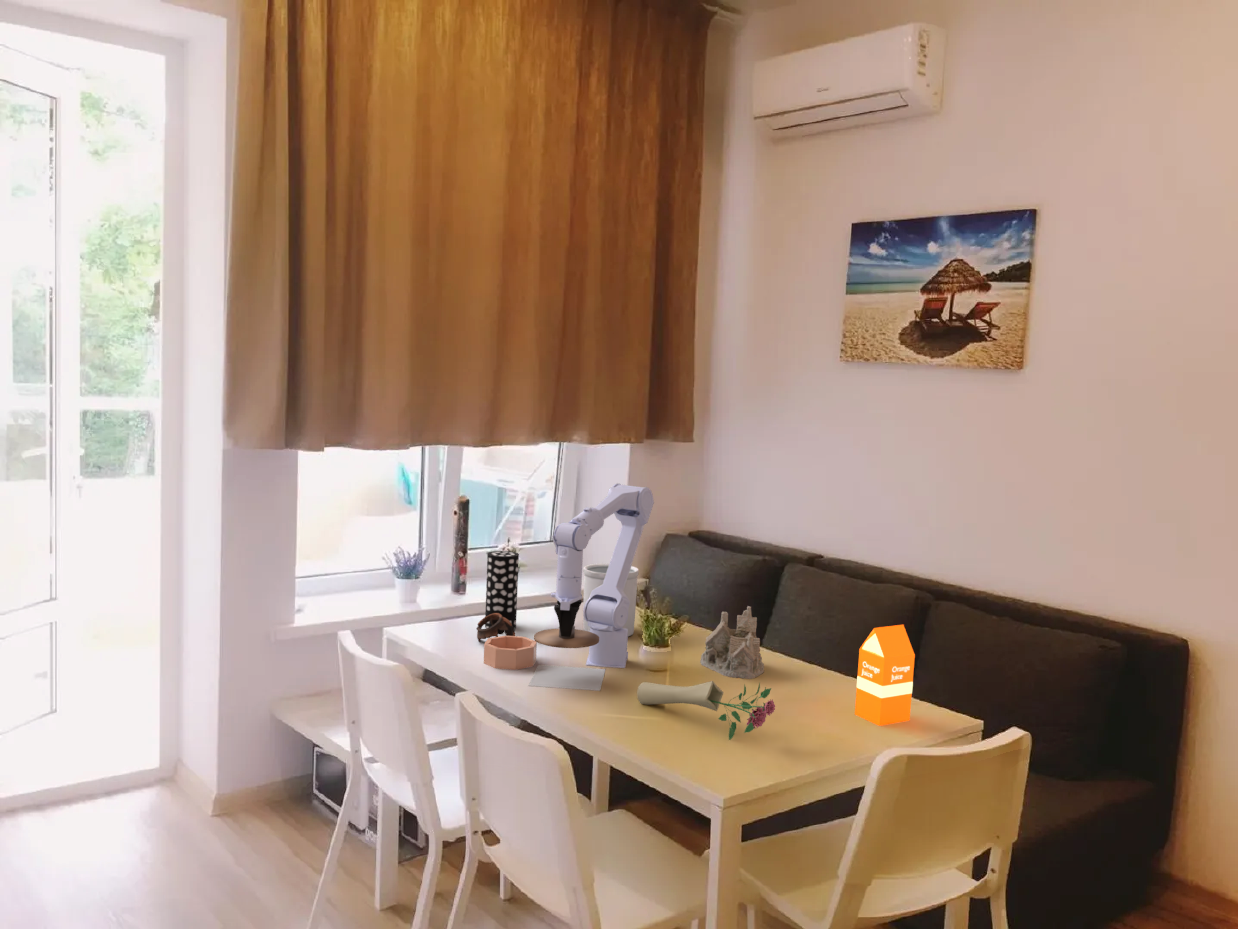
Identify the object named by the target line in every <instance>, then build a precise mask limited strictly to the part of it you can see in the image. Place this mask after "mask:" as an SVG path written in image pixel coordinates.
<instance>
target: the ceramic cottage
mask: <svg viewBox="0 0 1238 929" xmlns="http://www.w3.org/2000/svg"><path fill="white" fill-rule="evenodd" d="M720 616H721V617H720V623H719V624H718V625H717V626H716V628H715V629H714V630H713V631H712V632H711V633H710V634H709V635H708V636H706V637H705V647H704V648H705V650H704V652H702V653H701V656H700V665H701V666H702V667H706V668H707V669H709V670H712V671H713V672H714V671H715V673H718V674H720V675H722V676H725V677H727V678H736V679H737V678H741V679H746V680H747V679H748V680H750V679H755V678H757V677H759V676H760V675H762V674H763V673H764V672H765V663H763V659H762V654H761V653H760V652H761V648H760V646H761V639H760V638H759V637H757V626H758V622H757V621H758V618H757V617H756V616H754V617H753V616H752V606H749V605H747V607H746V609H745V610H743V612H742V614H741V615H740V614H737V616H736V628H735V629H734V628H730V627H729V625H728V624H729V623H728V622H729V612H727V611H722V612H721V615H720Z"/></svg>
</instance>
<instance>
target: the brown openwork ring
mask: <svg viewBox="0 0 1238 929" xmlns="http://www.w3.org/2000/svg"><path fill="white" fill-rule="evenodd" d="M490 620H491V624H492V626H491V627H489V628H486V627H485V628H483V626H485V624H486V623H487V622H489V621H490ZM476 631H477V633H476V639H477V640H478V642H481V640H486V639H488V638H493V637H499V635H504V633H505V636H516V631H515V629H514V628H513V626H512V624H511V622H510V621H509V620H508V619H506V618H504V617H503V616H502V615H501V614H499V613H494V614H490V615H488V616H486V617H485V616H484V617H483V618H482V619H481V620H480V621H479V622H478V623H477V627H476Z"/></svg>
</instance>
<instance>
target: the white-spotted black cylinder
mask: <svg viewBox="0 0 1238 929" xmlns="http://www.w3.org/2000/svg"><path fill="white" fill-rule="evenodd" d="M519 557H520V554H519V553H518V552H515V551H509V550H508V551H507V550H494V551H489V552H487V559H486V561H487V562H486V588H485V589H486V590H485V591H486V592H485V615H484V617H486V616H488V615H490V614H494V613H499V614H501V615H502V616H503V617H504V618H506V619H508V620H509V621H510V622H511V624H512V626H513V628H514V630H515V629H516V628H517V614H518V612H517V608H518V607H517V606H518V583H519V560H520V559H519ZM491 626H492V624H491V620H490V621H489V622H487V623H486V624H485V625H484V628H485V629H486V628H489V627H491Z"/></svg>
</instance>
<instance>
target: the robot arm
mask: <svg viewBox="0 0 1238 929" xmlns="http://www.w3.org/2000/svg"><path fill="white" fill-rule="evenodd" d="M654 500H655V499H654V496H653V493H652V490H651V489H650V487H647V486H644V487H643V486H635V485H628V484H627V485H626V484H621V483H618V482H617V483H614V484H613V485H612V486H611V487H609V489H608V492H607V496H606V497H604V498H603V499H602V501H600V502H599V503H598V504H597V505H596V506H595V507H592V506H591V507H589V506H585V507H584V508H582V512H579V514H577V515H575V516H574V517H573V518H571V520H569V521H568V522H561V523H560V524H558V525H557V526H556V527H555V529H554V532H553V535H552V541H553V544H554V547H555V550H554V551H555V553H556V555H557V562H556V563H557V564H556V588H555V590H556V591H555V592H551V593H550V598H554V599H556V600H557V601H556V603H557V604H555V605H554V606H553V609H554V612H555V614H556V616H557V620H558V624H559V625H558V627H559V626H560V633H561V636H563V637H570V636H571V633H572V628H573V626H575V624H576V619H577V614H578V612H579V610H580V606H581V605H582V603H583V600H582V598H583V594H582V586H583V585H582V580H583V559H584V549H586V548H587V547H588V545H589V542H590V540H591V539H592V536H593V535H594V534H596V533H597V532H599V531H600V530H601V528H603V526H604V524H605V520H606V519H608V518H609V517H610V516H611V515H613V514H614V516H615V518H616V519H617V520H618V521H619V522H620V523H621V528H620V531H619V534H618V536H617V537H618V538H617V539H616V543H615V546H614V549H613V552H612V555H611V557H610V561H609V563H608V564H609V567H608V570H607V573H606V576H605V579H604V582H603V584H602V585H601V586H599V587H597V588H596V589H594V590H592V592H591V595H590V597H589V599H588V600H587V601H586V603H585V605H584V608H582V609H583V610H582V611H583V613H582V615H584V619H585V620H586V621H587V622H588V626H590V632H592V633H594V634H596V635H598V636H599V643H597V644H596V645H593V646H589V647H588V655H587V659H586V662H585V666H587V667H602V668H603V667H604V668H617V669H620V668H621V669H626V667H627V666H626V665H627V660H628V659H629V651H628V640H629V638H628V637H629V636H628V629H625V628H623V626H624V625H625V623H626V621H627V619H628V609H629V604H630V601H629V599H628V597H627V596H626V595H625V593H624V592H623V590H624V587H625V584H626V581H627V578H628V575H629V571H630V568H631V566H633V565H632V564H633V562H634V559H635V556H636V552H637V549H638V547H639V543H640V540H641V538H642V534H643V531H644V528H645V526H646V525H647V524H648V522H649V519H650V516H651V513H652V511H653V507H654V504H655V501H654Z"/></svg>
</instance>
